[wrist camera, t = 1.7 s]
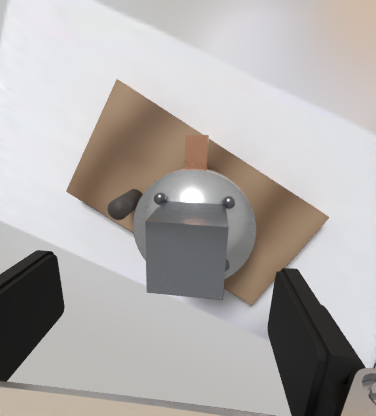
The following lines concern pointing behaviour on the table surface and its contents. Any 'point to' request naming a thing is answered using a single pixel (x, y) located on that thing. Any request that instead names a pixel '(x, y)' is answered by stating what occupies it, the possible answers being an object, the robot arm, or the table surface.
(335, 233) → the table surface
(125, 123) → the base board
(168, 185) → the flange plate
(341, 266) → the table surface
